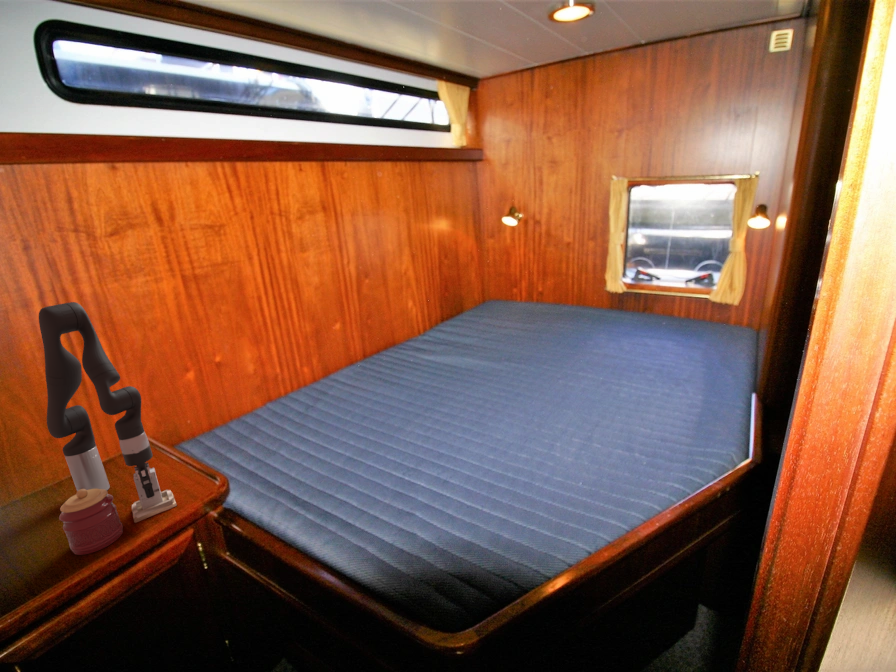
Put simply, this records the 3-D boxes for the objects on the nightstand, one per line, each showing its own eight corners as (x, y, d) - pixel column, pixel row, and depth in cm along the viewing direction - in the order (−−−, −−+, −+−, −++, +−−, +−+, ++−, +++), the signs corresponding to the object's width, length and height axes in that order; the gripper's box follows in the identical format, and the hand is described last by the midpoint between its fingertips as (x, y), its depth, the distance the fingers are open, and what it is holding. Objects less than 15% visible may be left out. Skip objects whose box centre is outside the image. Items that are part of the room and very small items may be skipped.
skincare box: (143, 512, 149) (132, 479, 146) (142, 506, 153) (132, 473, 150) (164, 503, 153) (154, 471, 150) (163, 498, 156) (153, 466, 153)
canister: (97, 527, 145) (80, 478, 141) (134, 526, 144) (118, 476, 140) (60, 556, 133) (40, 504, 129) (99, 555, 131) (80, 502, 127)
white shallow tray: (132, 509, 153) (130, 503, 153) (172, 494, 160) (170, 487, 160) (134, 522, 145) (132, 516, 145) (176, 505, 152) (174, 499, 152)
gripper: (120, 445, 151) (134, 488, 155) (123, 459, 140) (138, 505, 144) (147, 437, 155) (159, 479, 159) (151, 450, 144) (165, 495, 148)
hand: (149, 491), depth 151 cm, fingers open, 8 cm apart
